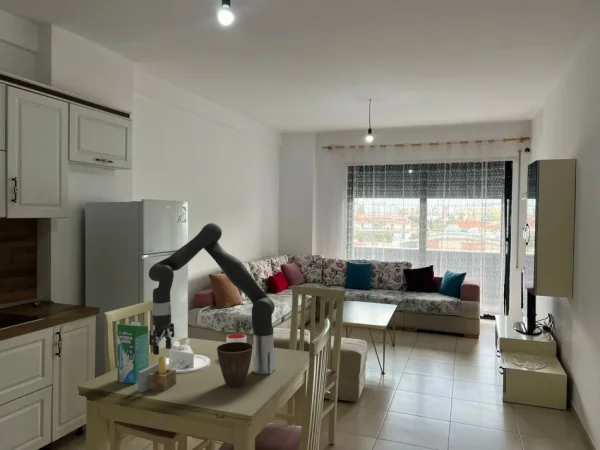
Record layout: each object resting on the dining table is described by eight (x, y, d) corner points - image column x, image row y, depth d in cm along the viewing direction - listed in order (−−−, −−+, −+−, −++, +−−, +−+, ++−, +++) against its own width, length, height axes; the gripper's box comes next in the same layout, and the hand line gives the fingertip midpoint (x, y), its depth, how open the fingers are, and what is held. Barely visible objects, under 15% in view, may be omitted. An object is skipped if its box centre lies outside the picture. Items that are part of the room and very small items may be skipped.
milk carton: (148, 377, 199) (148, 320, 198) (134, 384, 190) (134, 325, 190) (131, 374, 202) (131, 319, 201) (117, 381, 193) (117, 323, 193)
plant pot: (238, 394, 179) (238, 354, 179) (209, 387, 187) (209, 349, 186) (259, 382, 192) (259, 344, 192) (231, 376, 200) (231, 340, 199)
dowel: (167, 385, 189) (167, 356, 189) (163, 387, 186) (163, 359, 186) (161, 384, 190) (161, 356, 190) (157, 387, 187) (157, 358, 187)
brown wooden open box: (176, 384, 190) (176, 369, 190) (165, 390, 183) (164, 376, 183) (160, 381, 193) (160, 367, 193) (148, 388, 185) (148, 374, 185)
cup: (244, 358, 224) (244, 338, 224) (224, 358, 224) (224, 338, 224) (247, 352, 234) (247, 333, 234) (228, 352, 234) (228, 333, 234)
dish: (147, 364, 216) (147, 341, 216) (193, 353, 233) (193, 332, 233) (172, 378, 198) (172, 352, 198) (220, 365, 215) (220, 341, 215)
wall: (165, 378, 197) (165, 360, 197) (142, 392, 182) (141, 372, 181) (161, 378, 197) (161, 360, 197) (137, 391, 182) (137, 372, 182)
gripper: (164, 308, 195) (164, 346, 195) (143, 315, 181) (143, 355, 182) (179, 309, 193) (179, 347, 193) (159, 316, 179) (159, 357, 179)
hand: (162, 351), depth 187 cm, fingers open, 8 cm apart
